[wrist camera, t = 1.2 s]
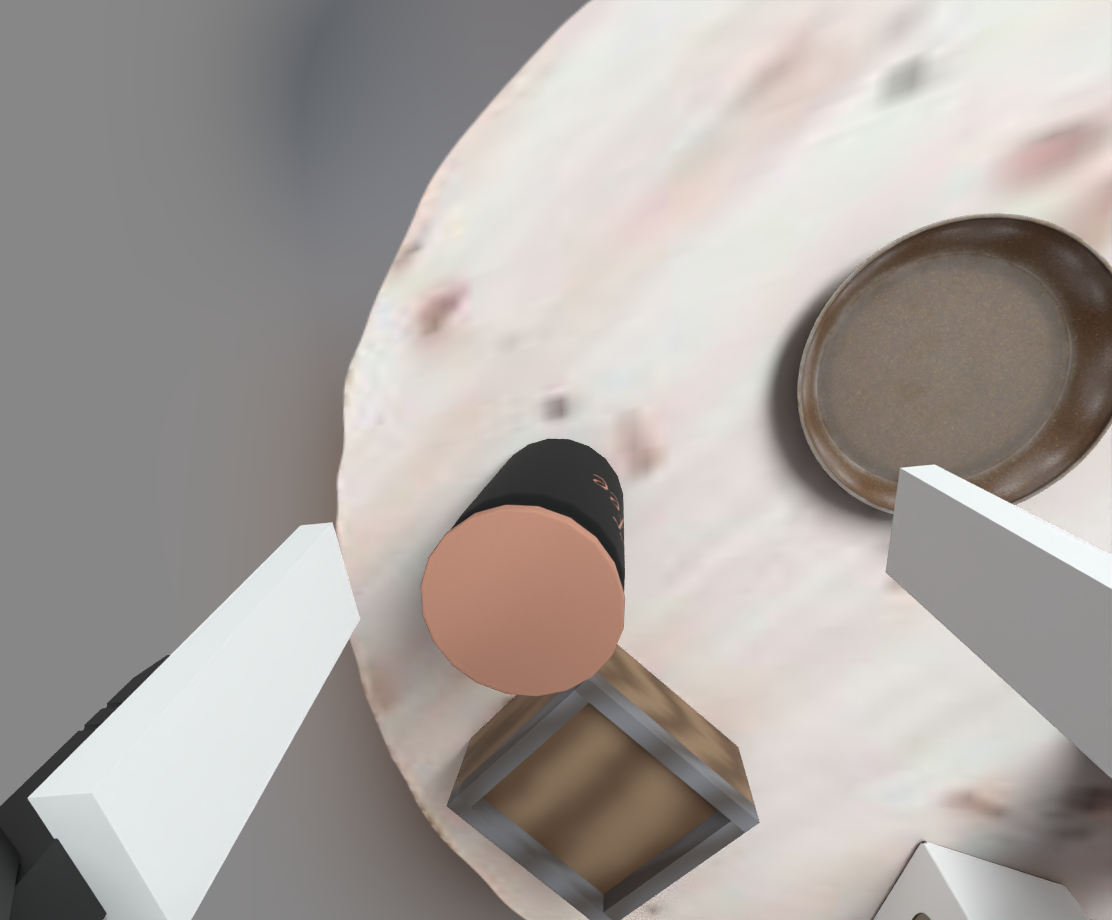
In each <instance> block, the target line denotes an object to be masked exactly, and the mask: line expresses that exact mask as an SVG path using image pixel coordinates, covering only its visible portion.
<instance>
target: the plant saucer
mask: <svg viewBox="0 0 1112 920" xmlns="http://www.w3.org/2000/svg"><path fill="white" fill-rule="evenodd" d="M797 401H798V410H799V417H800V421H801V426H802V429H803V432H804V435H805V438H806V441H807V443H808V445H809V447H810V449H811V451H812V453H813V455H814V456H815V458H816V460H817V461H818V463H819V464H820V465H821V467H822V468H823V469H824V471H825V472H826V473H827V474H828V475H829V476H830V477H831V479H833V480H834V481H835V482H836V483H837V484H838V485H839V486H840V487H841V488H842V489H844V490H845V491H846V492H847V493H849V494H850V495H852V496H853V497H855V498H856V499H858V500H860V501H862V502H863V503H865V504H867V505H869V506H871V507H873V508H876V509H878V510H880V511H883V512H886V513H890V514H893V515H894V508H895V501H896V493H897V486H898V479H899V472H900V468H903V467H914V466H924V465H934V464H935V465H937V466H939V467H941V468H942V469H944V470H946V471H948V472H950V473H952V474H954V475H956V476H958V477H960V478H962V479H964V480H966V481H968V482H970V483H972V484H974V485H976V486H978V487H980V488H982V489H984V490H986V491H987V492H989V493H991V494H993V495H995V496H997V497H999V498H1001V499H1003V500H1005V501H1007V502H1009V503H1011V504H1013V505H1016V504H1018V503H1021V502H1023V501H1025V500H1027V499H1029V498H1031V497H1033V496H1035V495H1037V494H1038V493H1040V492H1042V491H1044V490H1045V489H1047V488H1048V487H1050V486H1051V485H1053V484H1054V483H1056V482H1057V481H1059V480H1060V479H1062V478H1063V477H1064V476H1065V475H1066V474H1068V473H1069V472H1070V471H1071V470H1073V469H1074V468H1075V467H1076V466H1077V465H1078V464H1079V463H1080V462H1082V460H1083V459H1084V458H1085V457H1086V456H1087V455H1088V454H1089V453H1090V452H1091V451H1092V450H1093V449H1094V447H1095V446H1096V445H1097V444H1098V442H1099V441H1100V440H1101V438H1102V437H1103V436H1104V434H1105V433H1106V432H1107V430H1108V429H1109V427H1110V426H1111V424H1112V267H1111V265H1110V264H1109V263H1108V261H1107V260H1106V259H1105V258H1104V257H1103V256H1102V255H1101V254H1100V253H1099V252H1097V251H1096V250H1095V249H1094V248H1093V247H1092V246H1091V245H1090V244H1088V243H1087V242H1085V241H1084V240H1083V239H1081V238H1080V237H1078V236H1077V235H1075V234H1074V233H1072V232H1070V231H1068V230H1066V229H1064V228H1062V227H1060V226H1058V225H1056V224H1053V223H1050V222H1047V221H1044V220H1040V219H1037V218H1033V217H1028V216H1022V215H1015V214H1000V213H998V214H976V215H967V216H961V217H956V218H952V219H947V220H943V221H939V222H936V223H933V224H930V225H927V226H925V227H922V228H920V229H917V230H915V231H913V232H911V233H909V234H907V235H904V236H902V237H900V238H898V239H897V240H895V241H893V242H892V243H890V244H888V245H887V246H885V247H884V248H882V249H881V250H879V251H878V252H876V253H875V254H874V255H872V256H871V257H870V258H868V259H867V260H866V261H865V262H863V263H862V264H861V265H860V266H859V267H858V268H857V269H855V270H854V271H853V272H852V273H851V274H850V275H849V276H848V278H847V279H846V280H845V281H844V282H843V283H842V284H841V285H840V286H839V287H838V289H837V290H836V291H835V292H834V294H833V295H832V296H831V298H830V299H829V300H828V302H827V303H826V305H825V306H824V308H823V309H822V311H821V313H820V314H819V316H818V318H817V319H816V321H815V323H814V325H813V327H812V330H811V332H810V334H809V336H808V339H807V342H806V344H805V347H804V351H803V354H802V358H801V362H800V368H799V374H798V383H797Z"/></svg>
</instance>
